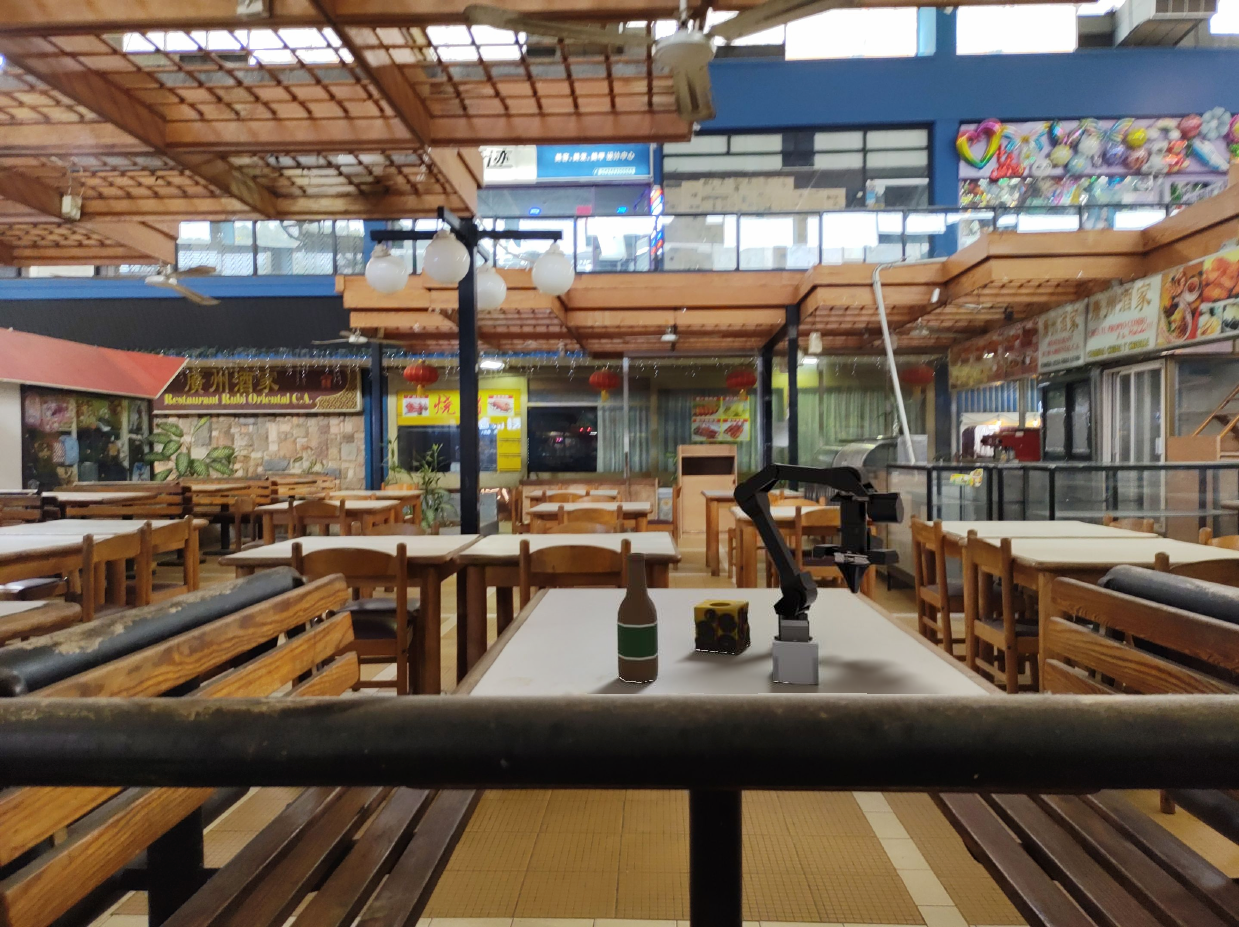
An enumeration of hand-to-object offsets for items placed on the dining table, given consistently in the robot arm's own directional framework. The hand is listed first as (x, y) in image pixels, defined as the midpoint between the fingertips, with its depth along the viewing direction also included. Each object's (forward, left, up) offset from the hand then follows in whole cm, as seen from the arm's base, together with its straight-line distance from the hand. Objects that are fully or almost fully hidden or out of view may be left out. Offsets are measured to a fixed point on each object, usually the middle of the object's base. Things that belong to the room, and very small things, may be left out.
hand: (854, 593), depth 158 cm
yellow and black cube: (-19, -22, -12) cm, 32 cm away
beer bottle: (-13, -51, -12) cm, 54 cm away
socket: (+5, -27, -12) cm, 30 cm away
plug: (+5, -27, -12) cm, 30 cm away
